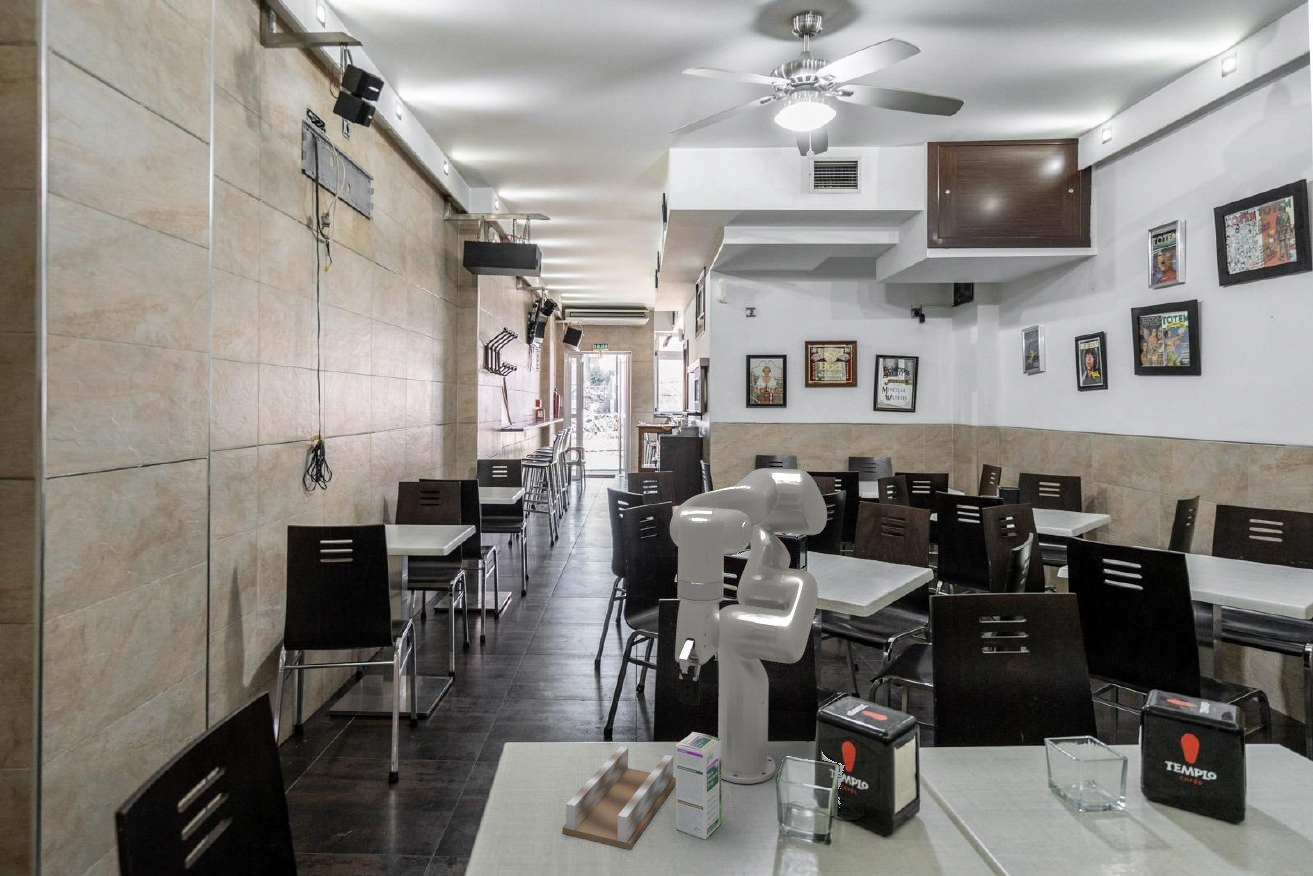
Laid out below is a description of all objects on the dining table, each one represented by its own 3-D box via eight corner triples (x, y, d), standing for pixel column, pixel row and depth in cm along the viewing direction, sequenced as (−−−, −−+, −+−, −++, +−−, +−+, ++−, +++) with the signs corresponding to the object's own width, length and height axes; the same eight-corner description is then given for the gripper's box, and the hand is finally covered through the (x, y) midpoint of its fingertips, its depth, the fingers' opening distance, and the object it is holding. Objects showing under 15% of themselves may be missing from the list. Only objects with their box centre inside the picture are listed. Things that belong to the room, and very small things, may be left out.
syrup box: (706, 841, 115) (707, 751, 115) (674, 829, 118) (675, 742, 118) (722, 824, 120) (723, 738, 119) (691, 813, 123) (691, 730, 123)
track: (617, 771, 137) (617, 745, 137) (676, 783, 133) (676, 756, 133) (562, 833, 117) (562, 803, 117) (630, 849, 112) (630, 818, 112)
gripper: (694, 577, 127) (693, 673, 127) (660, 599, 111) (659, 709, 111) (736, 581, 124) (734, 679, 125) (707, 604, 108) (705, 716, 109)
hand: (699, 693), depth 118 cm, fingers open, 9 cm apart
